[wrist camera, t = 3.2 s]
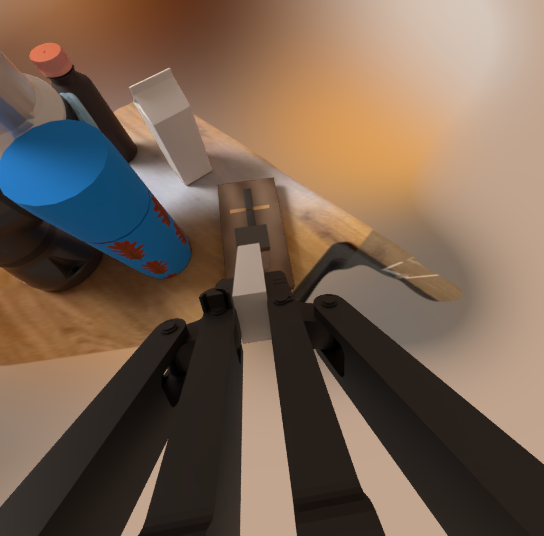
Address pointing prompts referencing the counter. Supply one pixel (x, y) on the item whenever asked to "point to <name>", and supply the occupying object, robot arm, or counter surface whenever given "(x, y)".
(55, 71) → the bottle
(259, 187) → the console
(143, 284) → the counter surface
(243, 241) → the fader handle
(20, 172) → the thermos
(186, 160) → the milk carton
